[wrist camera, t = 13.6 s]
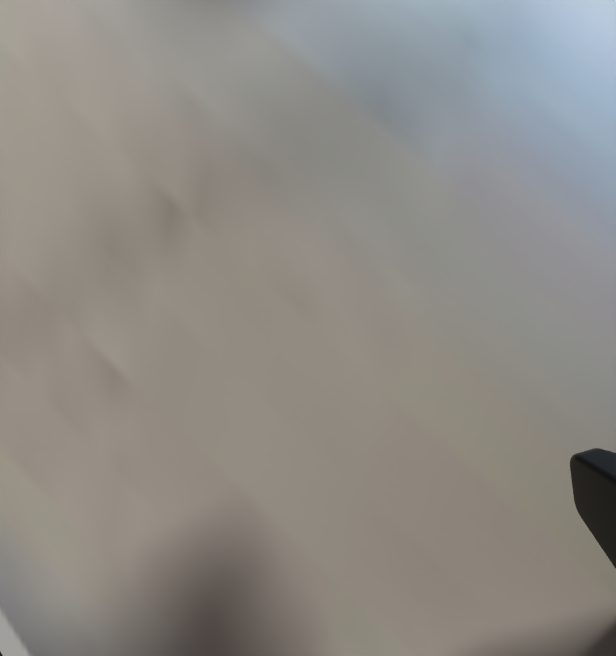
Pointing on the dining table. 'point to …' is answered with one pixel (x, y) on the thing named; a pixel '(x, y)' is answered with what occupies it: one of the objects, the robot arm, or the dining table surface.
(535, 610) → the dining table surface
